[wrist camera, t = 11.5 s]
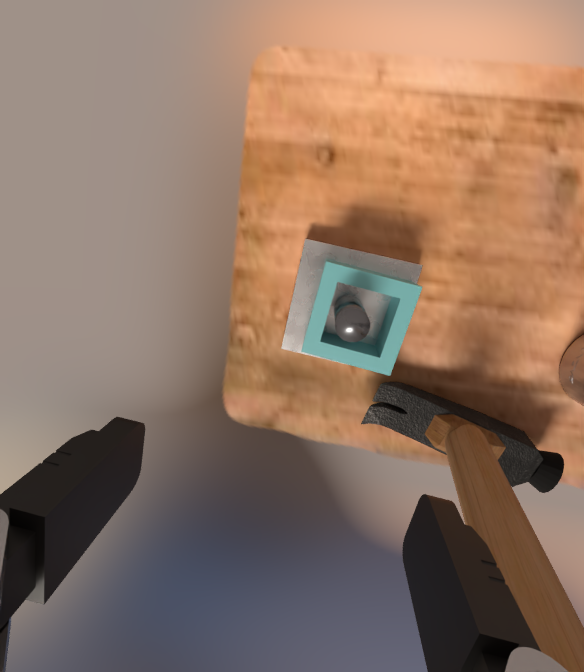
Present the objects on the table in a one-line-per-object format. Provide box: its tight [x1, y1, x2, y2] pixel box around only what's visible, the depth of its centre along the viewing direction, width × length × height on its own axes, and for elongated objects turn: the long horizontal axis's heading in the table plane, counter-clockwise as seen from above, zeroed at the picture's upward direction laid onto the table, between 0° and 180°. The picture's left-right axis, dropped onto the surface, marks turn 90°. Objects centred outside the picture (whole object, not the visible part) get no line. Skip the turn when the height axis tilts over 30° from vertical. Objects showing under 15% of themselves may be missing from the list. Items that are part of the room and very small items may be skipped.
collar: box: [301, 259, 422, 376], centre depth 35 cm, size 9×9×4 cm
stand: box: [281, 239, 423, 363], centre depth 35 cm, size 12×12×8 cm
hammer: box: [361, 382, 584, 672], centre depth 28 cm, size 20×5×30 cm, turn 70°
